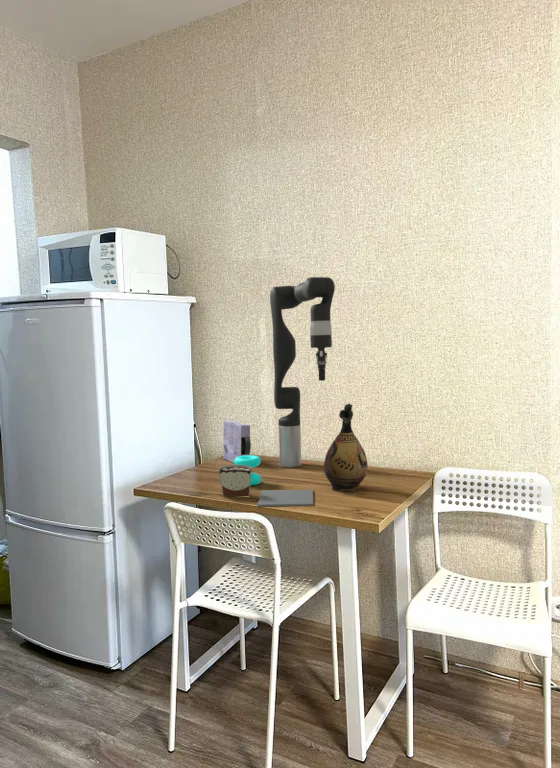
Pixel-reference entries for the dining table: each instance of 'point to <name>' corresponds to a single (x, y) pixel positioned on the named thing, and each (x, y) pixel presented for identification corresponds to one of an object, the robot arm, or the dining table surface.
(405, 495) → the dining table surface
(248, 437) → the cake pan box
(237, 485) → the food container
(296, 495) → the mat
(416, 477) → the dining table surface
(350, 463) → the ceramic jug
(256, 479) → the donuts
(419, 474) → the dining table surface
